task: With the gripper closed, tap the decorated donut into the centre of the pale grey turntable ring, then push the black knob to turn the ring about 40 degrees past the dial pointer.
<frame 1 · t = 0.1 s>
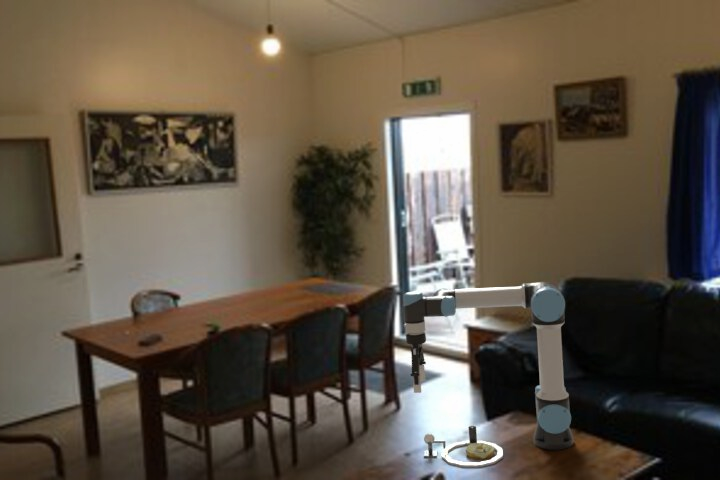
hand: (419, 386, 281), 28 cm above the table, tool pointing down, fingers open, 13 cm apart
decorated donut: (480, 456, 281), on the table
dial indicator: (430, 455, 285), on the table
turntable ring: (471, 445, 282), point 4 cm above the table, hinge at 0.0°
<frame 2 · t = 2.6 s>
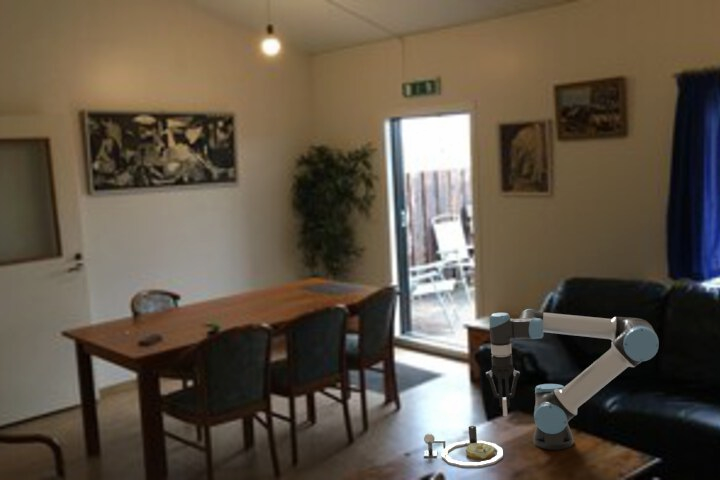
hand: (505, 415, 277), 16 cm above the table, tool pointing down, fingers closed
nothing on the table moved.
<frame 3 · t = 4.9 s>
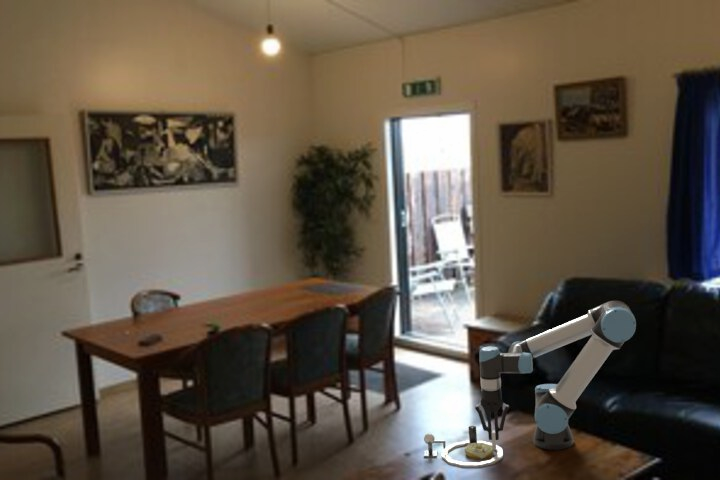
hand: (494, 447, 280), 3 cm above the table, tool pointing down, fingers closed
decorated donut: (479, 456, 281), on the table, touching gripper
everything else where it was.
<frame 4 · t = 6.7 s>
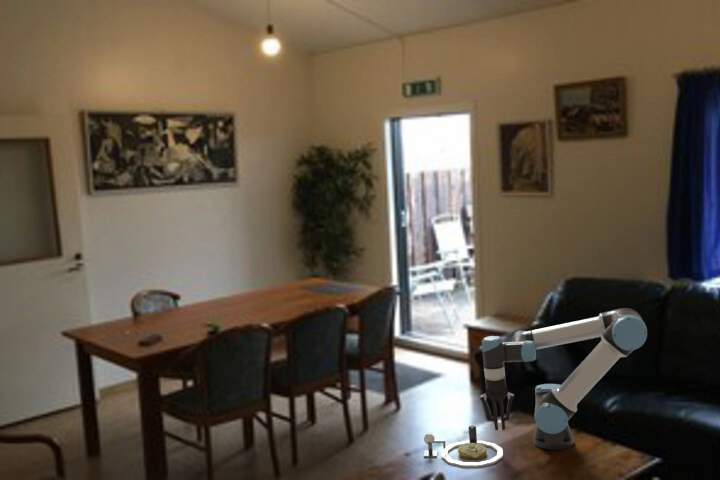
hand: (501, 437, 279), 7 cm above the table, tool pointing down, fingers closed
decorated donut: (472, 456, 282), on the table
everything else where it was.
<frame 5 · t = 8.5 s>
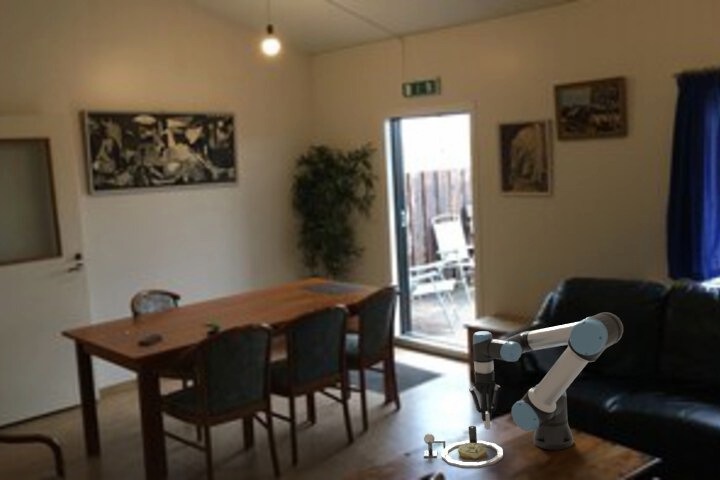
hand: (487, 428, 293), 6 cm above the table, tool pointing down, fingers closed
nothing on the table moved.
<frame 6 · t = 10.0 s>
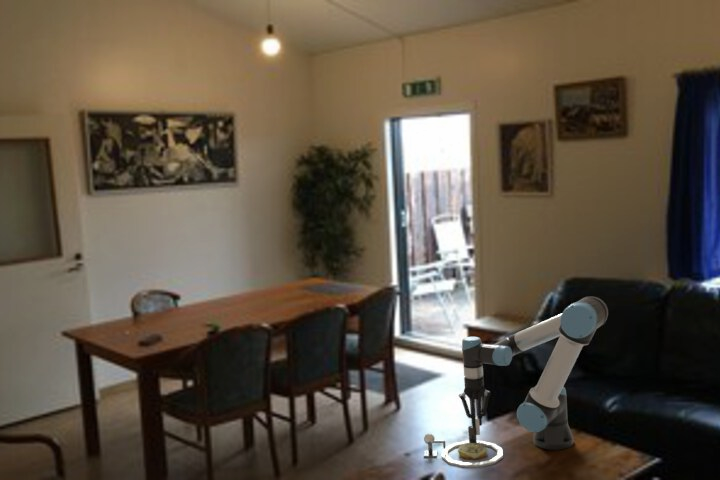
hand: (477, 433, 292), 4 cm above the table, tool pointing down, fingers closed
turntable ring: (471, 445, 282), point 4 cm above the table, hinge at 0.7°, touching gripper
everything else where it was.
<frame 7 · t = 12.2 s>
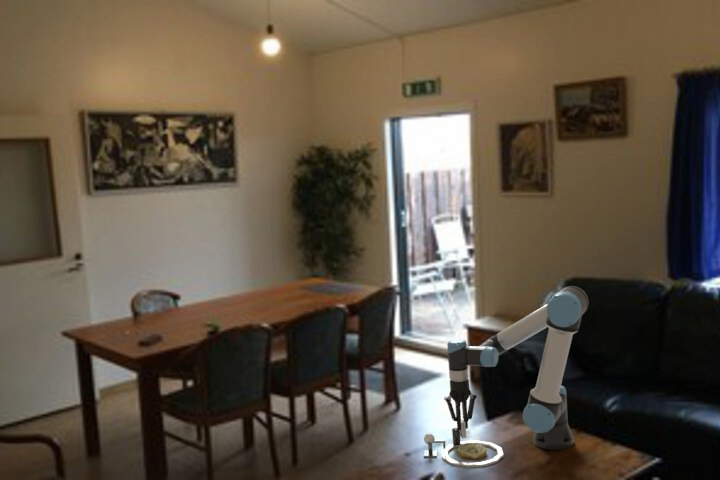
hand: (463, 436, 291), 4 cm above the table, tool pointing down, fingers closed
turntable ring: (471, 445, 282), point 4 cm above the table, hinge at 37.2°, touching gripper
everything else where it was.
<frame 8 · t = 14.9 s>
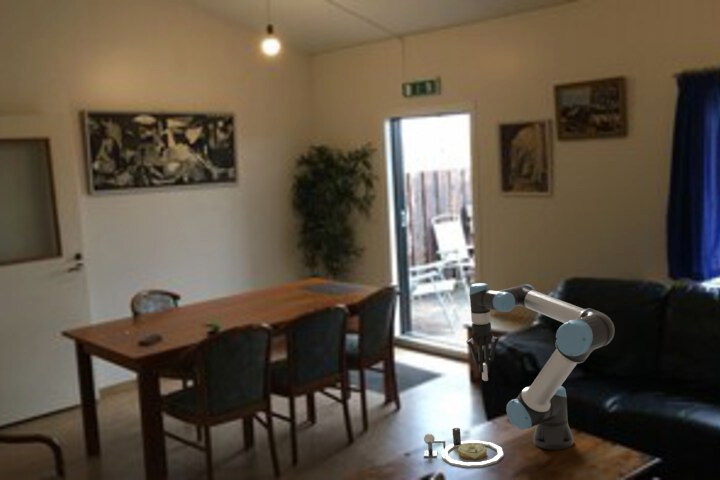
hand: (485, 379, 295), 24 cm above the table, tool pointing down, fingers closed
turntable ring: (471, 445, 282), point 4 cm above the table, hinge at 36.3°
everything else where it was.
at the end: decorated donut 0.2 cm from the turntable ring (horizontally); turntable ring at +36° (first picture: +0°); decorated donut tilted 0° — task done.
